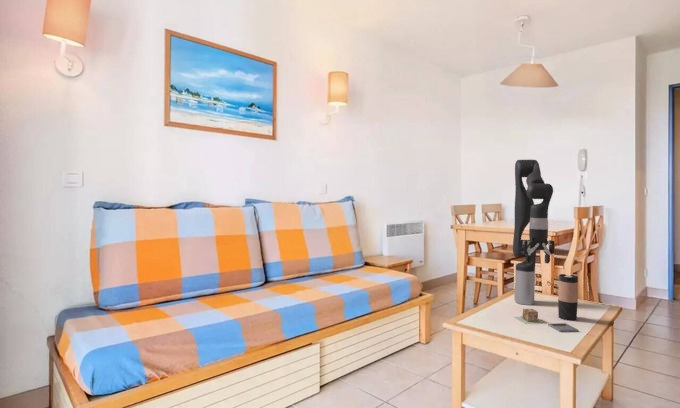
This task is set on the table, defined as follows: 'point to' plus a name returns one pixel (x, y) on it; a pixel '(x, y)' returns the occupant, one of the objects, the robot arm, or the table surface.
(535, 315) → the letter cube
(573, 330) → the tray
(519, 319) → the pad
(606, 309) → the table surface
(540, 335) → the table surface
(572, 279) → the travel mug
